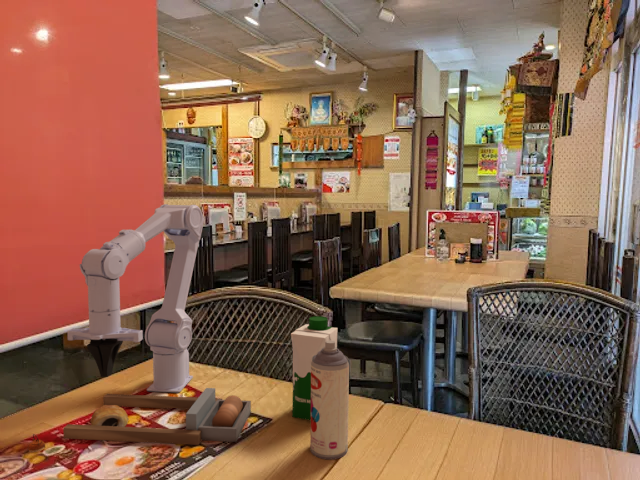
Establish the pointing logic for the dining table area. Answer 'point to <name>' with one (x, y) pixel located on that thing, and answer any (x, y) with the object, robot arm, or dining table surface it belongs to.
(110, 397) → the rail
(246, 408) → the cradle
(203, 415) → the block
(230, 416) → the roller
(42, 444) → the round teapot
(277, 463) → the dining table surface
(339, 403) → the aerosol can
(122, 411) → the pastry
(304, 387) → the milk carton
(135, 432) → the rail
